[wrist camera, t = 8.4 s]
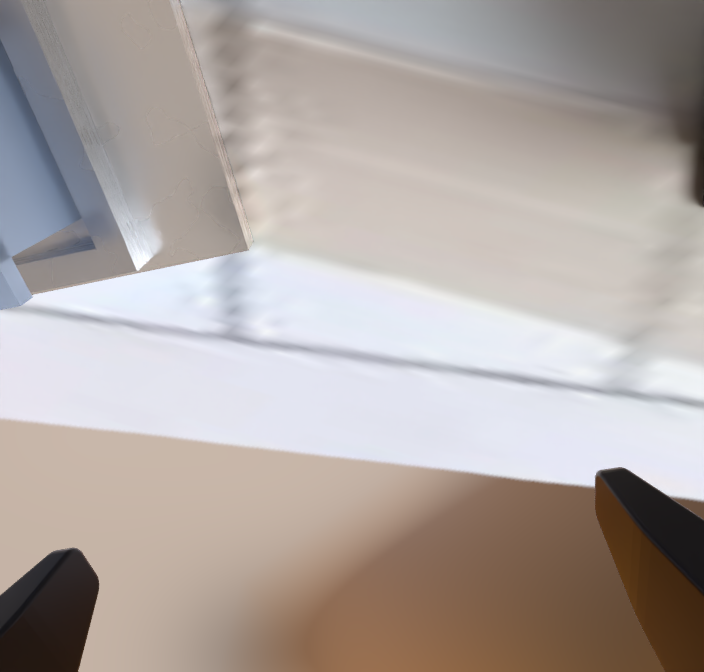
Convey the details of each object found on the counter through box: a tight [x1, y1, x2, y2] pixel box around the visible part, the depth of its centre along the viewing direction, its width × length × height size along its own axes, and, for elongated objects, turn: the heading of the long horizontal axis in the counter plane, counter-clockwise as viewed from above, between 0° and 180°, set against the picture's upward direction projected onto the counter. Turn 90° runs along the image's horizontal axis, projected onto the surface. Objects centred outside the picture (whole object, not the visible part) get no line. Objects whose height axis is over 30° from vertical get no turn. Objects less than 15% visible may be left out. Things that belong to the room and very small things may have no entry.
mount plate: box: [0, 0, 254, 295], centre depth 16 cm, size 12×10×2 cm
